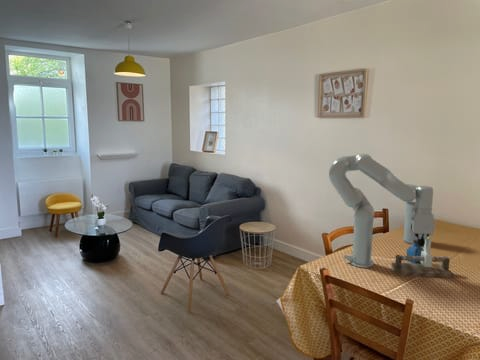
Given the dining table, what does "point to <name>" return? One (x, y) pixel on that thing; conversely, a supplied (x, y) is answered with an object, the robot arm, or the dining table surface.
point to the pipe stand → (422, 267)
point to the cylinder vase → (409, 223)
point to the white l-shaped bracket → (427, 253)
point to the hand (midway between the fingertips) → (420, 245)
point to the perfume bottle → (414, 251)
